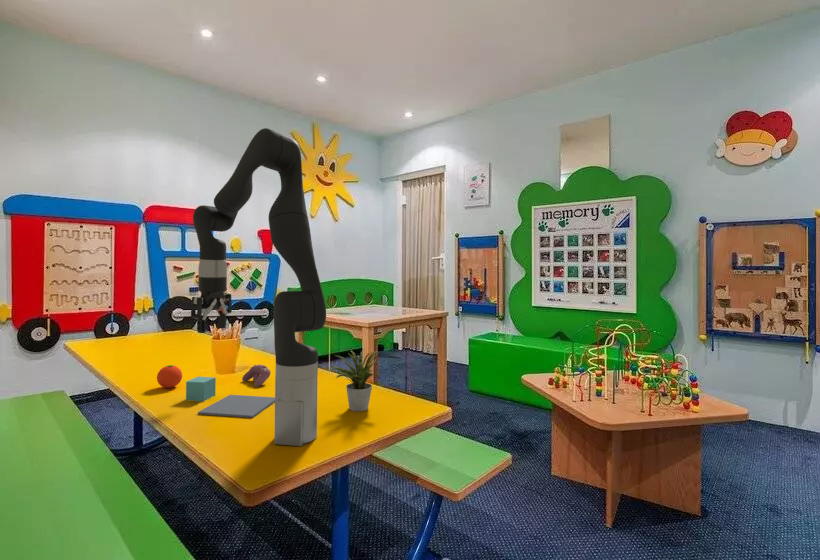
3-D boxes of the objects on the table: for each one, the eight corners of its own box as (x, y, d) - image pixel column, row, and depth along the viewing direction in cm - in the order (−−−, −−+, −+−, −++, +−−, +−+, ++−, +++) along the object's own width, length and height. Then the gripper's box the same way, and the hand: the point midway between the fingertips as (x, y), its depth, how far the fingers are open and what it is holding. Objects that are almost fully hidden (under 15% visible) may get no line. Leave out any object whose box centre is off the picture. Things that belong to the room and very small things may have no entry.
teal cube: (204, 401, 118) (204, 382, 118) (186, 400, 119) (186, 381, 118) (215, 395, 123) (215, 377, 123) (198, 394, 124) (198, 376, 124)
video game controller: (266, 390, 135) (275, 369, 137) (254, 386, 132) (263, 365, 134) (251, 384, 142) (260, 364, 144) (240, 380, 139) (249, 360, 141)
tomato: (156, 385, 133) (156, 363, 132) (181, 382, 136) (181, 361, 136) (156, 392, 126) (156, 368, 126) (182, 389, 129) (182, 366, 129)
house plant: (354, 395, 126) (355, 342, 125) (394, 403, 119) (395, 347, 119) (323, 409, 113) (324, 349, 113) (365, 419, 107) (366, 355, 106)
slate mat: (252, 418, 106) (252, 415, 106) (197, 414, 108) (197, 412, 108) (278, 399, 121) (278, 397, 121) (230, 396, 123) (230, 394, 123)
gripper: (206, 277, 114) (205, 335, 115) (239, 275, 128) (238, 327, 128) (183, 275, 115) (182, 333, 116) (218, 274, 129) (217, 325, 130)
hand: (212, 330), depth 122 cm, fingers open, 8 cm apart
